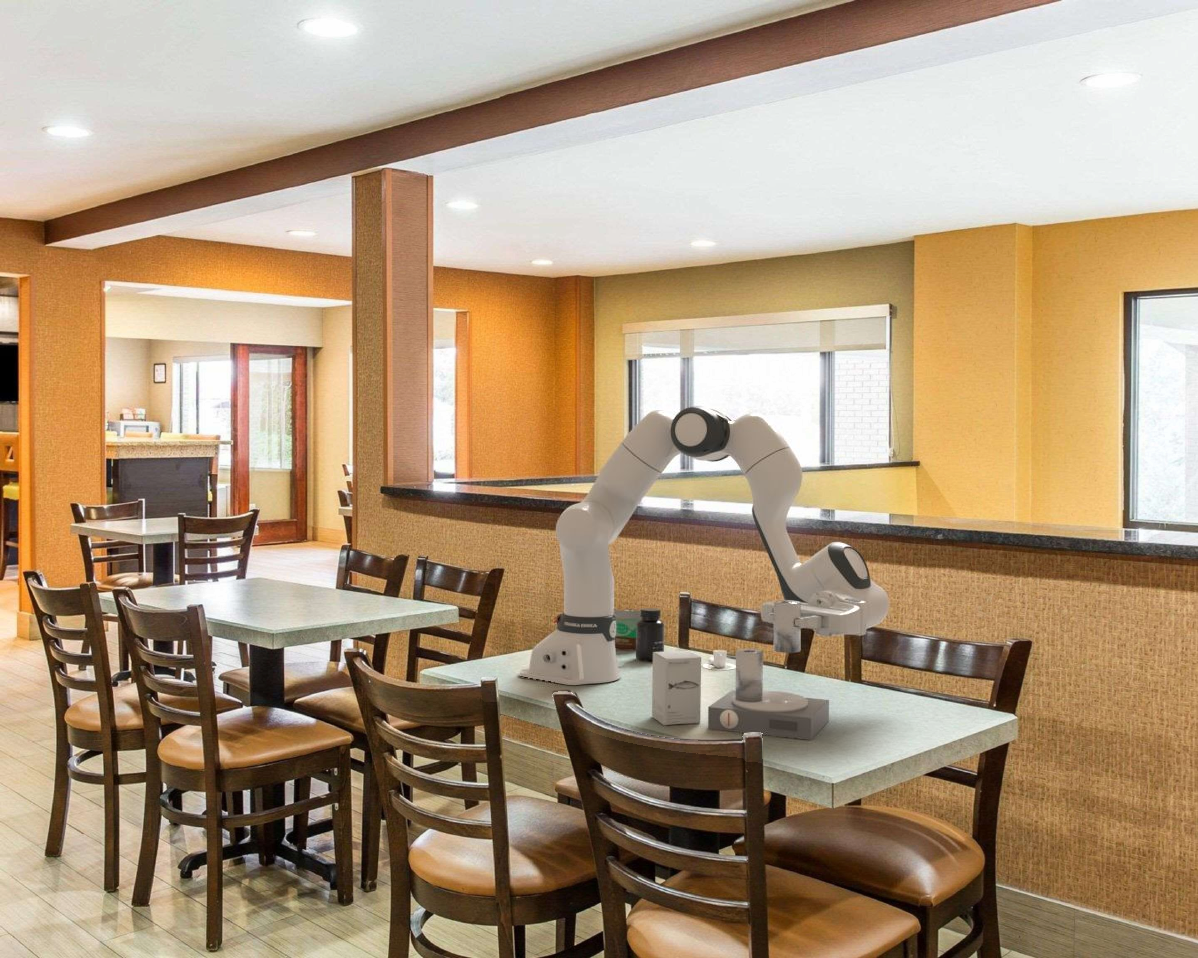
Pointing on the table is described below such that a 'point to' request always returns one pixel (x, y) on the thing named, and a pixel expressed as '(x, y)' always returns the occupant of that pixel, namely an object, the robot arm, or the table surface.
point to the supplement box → (676, 687)
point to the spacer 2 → (787, 626)
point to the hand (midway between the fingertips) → (784, 620)
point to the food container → (626, 629)
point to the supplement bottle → (649, 634)
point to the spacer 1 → (749, 675)
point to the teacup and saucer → (718, 660)
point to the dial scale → (770, 715)
